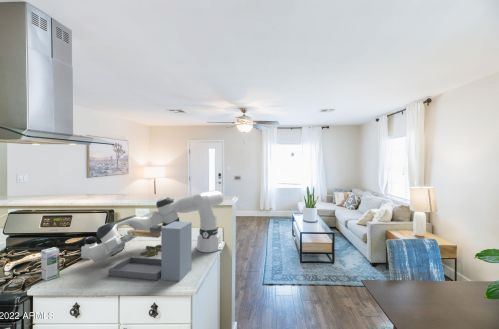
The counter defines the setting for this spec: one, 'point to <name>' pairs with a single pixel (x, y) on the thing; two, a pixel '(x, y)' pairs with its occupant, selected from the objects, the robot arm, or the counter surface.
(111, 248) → the robot arm
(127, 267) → the charcoal tray
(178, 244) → the slate stand
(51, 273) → the syrup box
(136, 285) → the counter surface
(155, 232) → the oak handled hammer
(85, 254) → the medicine bottle
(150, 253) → the cookie cutter
